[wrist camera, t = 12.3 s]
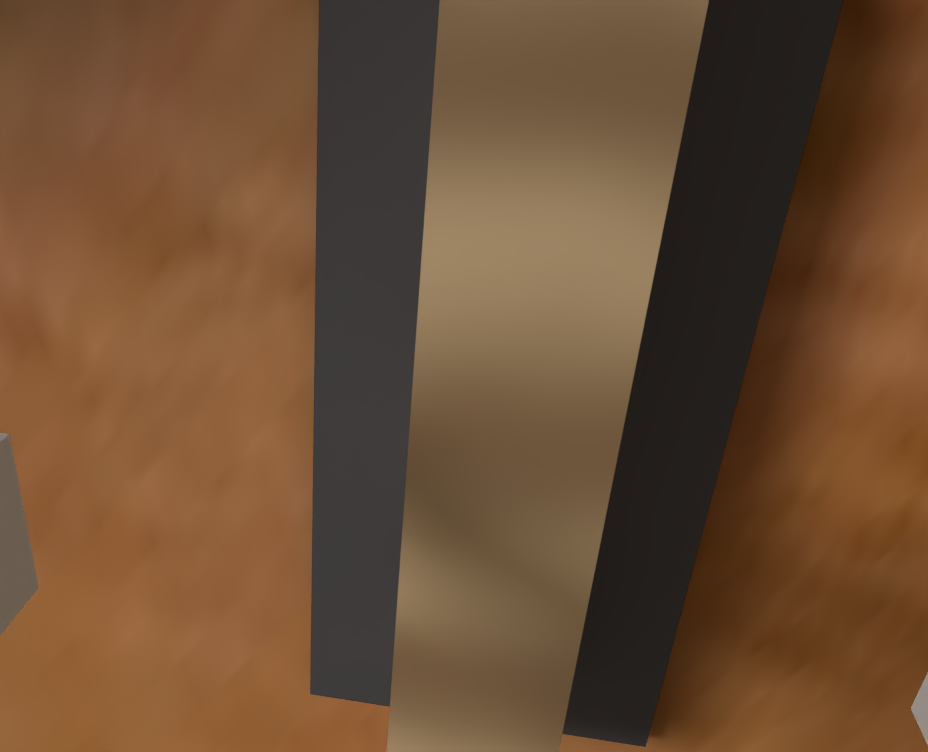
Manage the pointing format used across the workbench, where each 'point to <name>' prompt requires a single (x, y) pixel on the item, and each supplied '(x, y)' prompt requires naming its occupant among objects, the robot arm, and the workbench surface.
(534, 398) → the rail
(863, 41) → the workbench surface
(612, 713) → the mat
